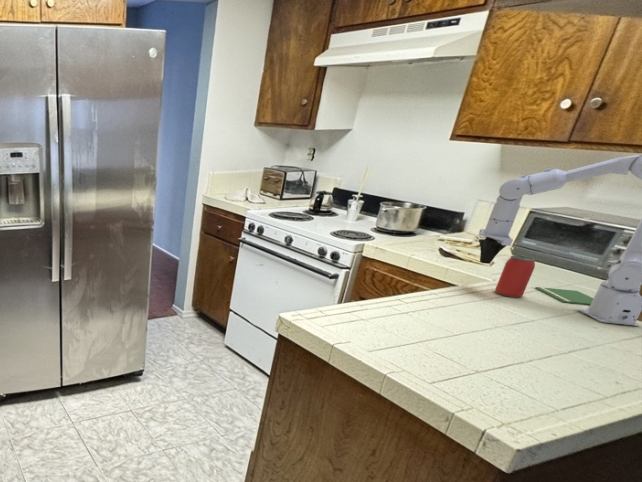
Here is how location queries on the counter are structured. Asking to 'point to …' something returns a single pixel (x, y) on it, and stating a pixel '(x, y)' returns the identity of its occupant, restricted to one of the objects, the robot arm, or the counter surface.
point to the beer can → (515, 276)
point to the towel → (567, 296)
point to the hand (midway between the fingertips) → (484, 262)
